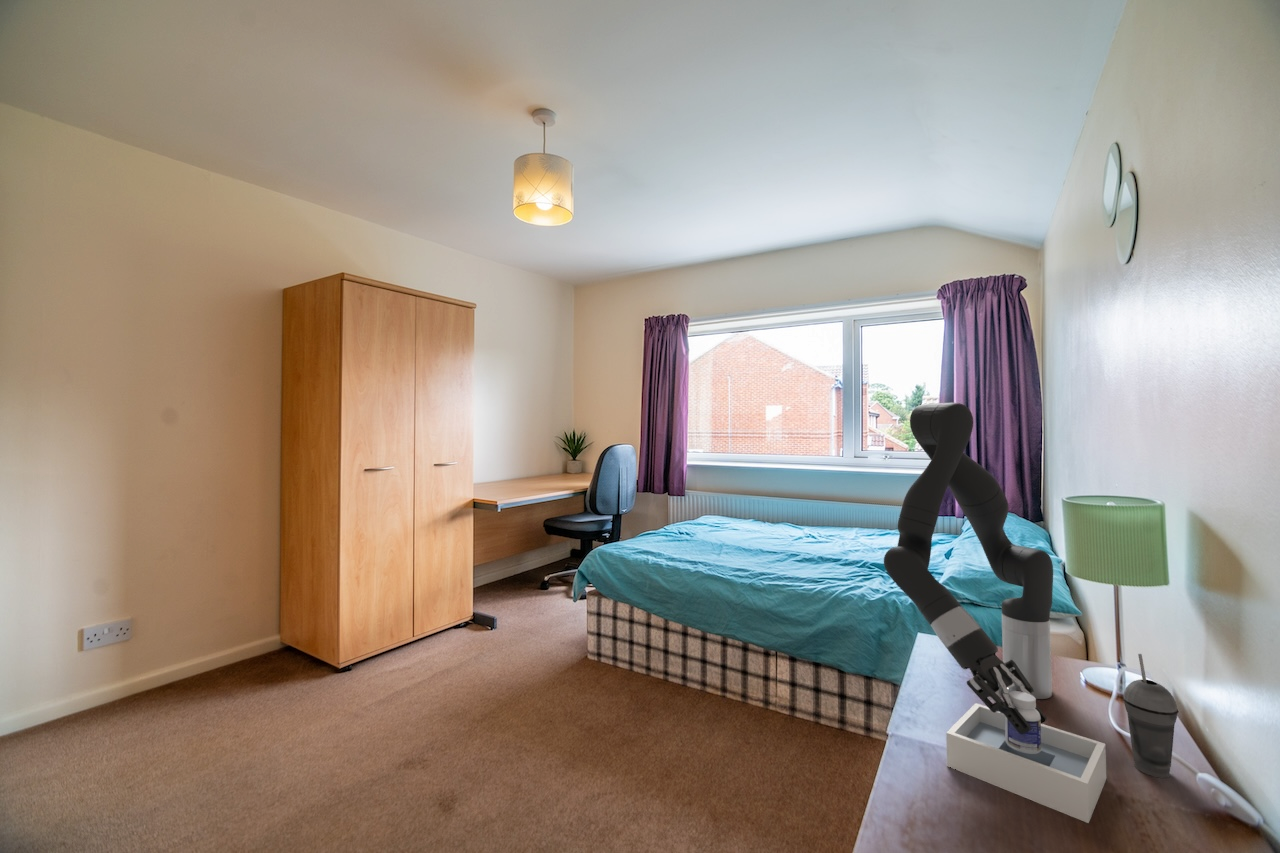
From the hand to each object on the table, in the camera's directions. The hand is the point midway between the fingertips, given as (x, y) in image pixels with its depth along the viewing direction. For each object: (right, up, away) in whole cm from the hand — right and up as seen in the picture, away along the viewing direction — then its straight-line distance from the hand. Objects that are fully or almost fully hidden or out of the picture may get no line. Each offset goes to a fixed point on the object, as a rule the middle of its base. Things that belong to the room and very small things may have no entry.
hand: (1034, 726), depth 96 cm
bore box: (-1, -9, +1) cm, 9 cm away
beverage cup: (+22, -9, +2) cm, 24 cm away
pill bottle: (-1, -4, +1) cm, 5 cm away
